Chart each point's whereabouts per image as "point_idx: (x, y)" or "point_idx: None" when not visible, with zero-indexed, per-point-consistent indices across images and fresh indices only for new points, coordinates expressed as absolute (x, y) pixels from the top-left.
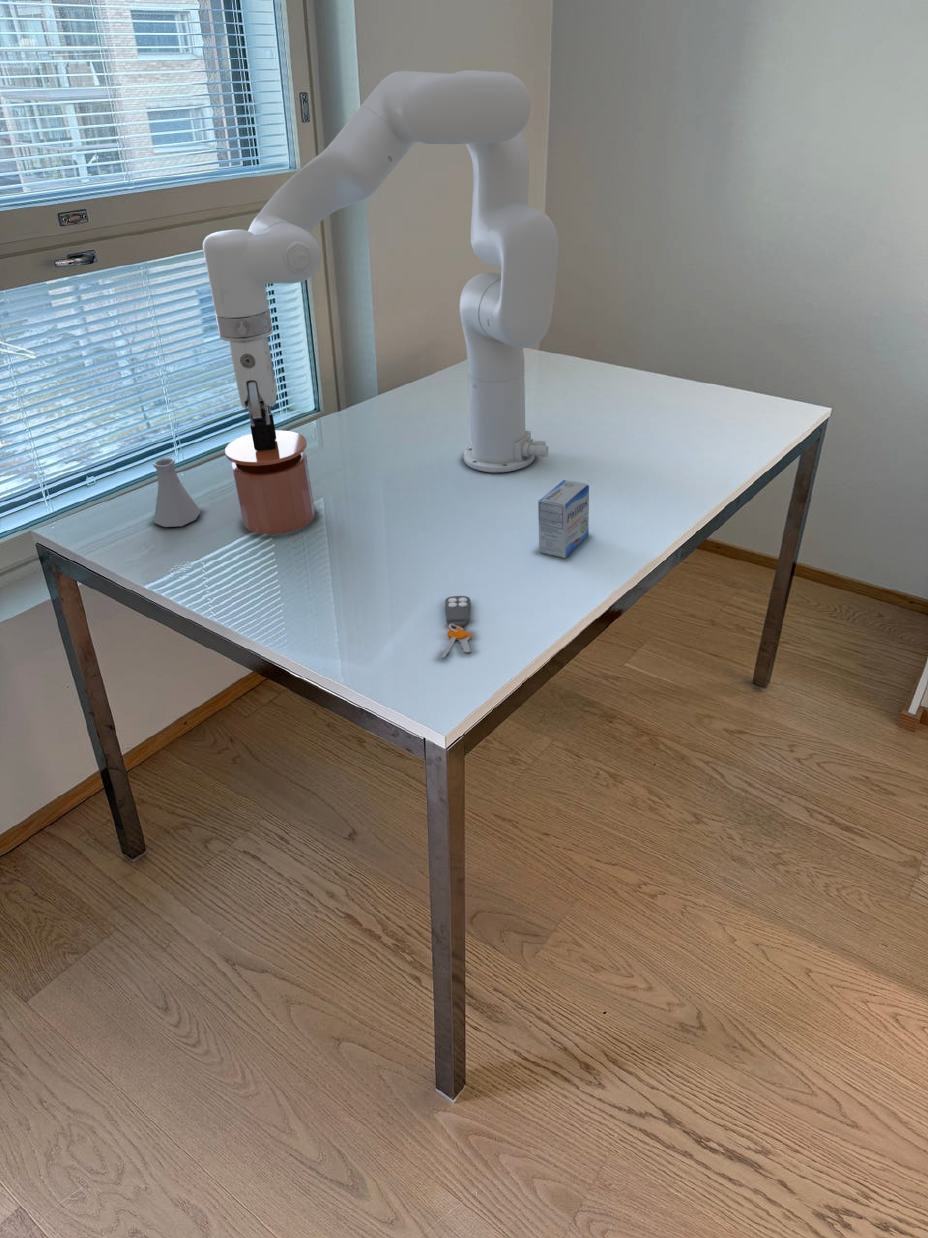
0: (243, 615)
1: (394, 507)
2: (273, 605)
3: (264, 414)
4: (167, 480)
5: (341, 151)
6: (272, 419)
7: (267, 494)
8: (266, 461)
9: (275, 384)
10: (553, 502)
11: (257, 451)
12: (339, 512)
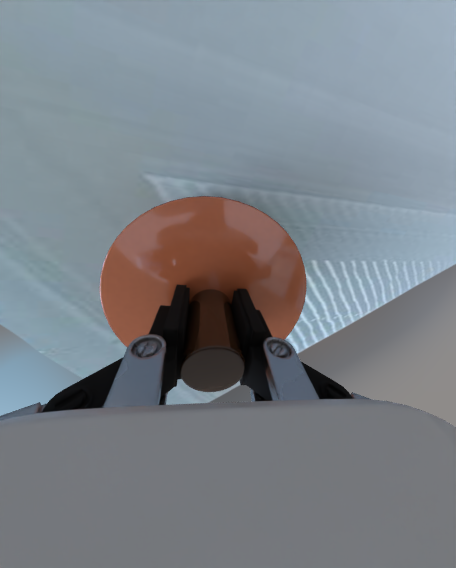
0: (377, 293)
1: (223, 26)
2: (381, 268)
3: (338, 395)
4: (167, 392)
5: None
6: (180, 321)
7: None
8: (302, 307)
9: (113, 530)
10: None
11: None
12: (209, 156)
